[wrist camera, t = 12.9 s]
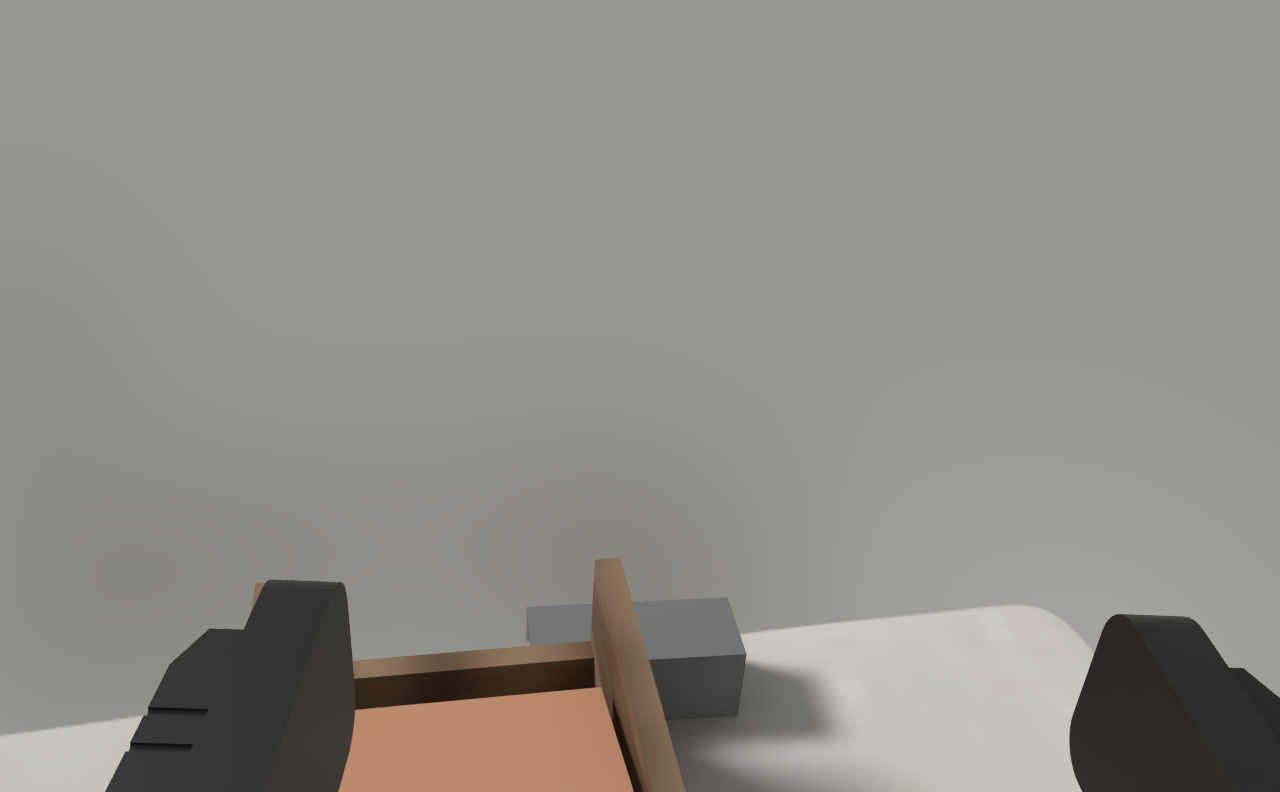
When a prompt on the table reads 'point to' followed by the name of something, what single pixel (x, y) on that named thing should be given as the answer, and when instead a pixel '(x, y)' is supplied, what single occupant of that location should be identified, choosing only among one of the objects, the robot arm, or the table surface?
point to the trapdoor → (489, 746)
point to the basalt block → (668, 650)
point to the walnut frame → (549, 679)
